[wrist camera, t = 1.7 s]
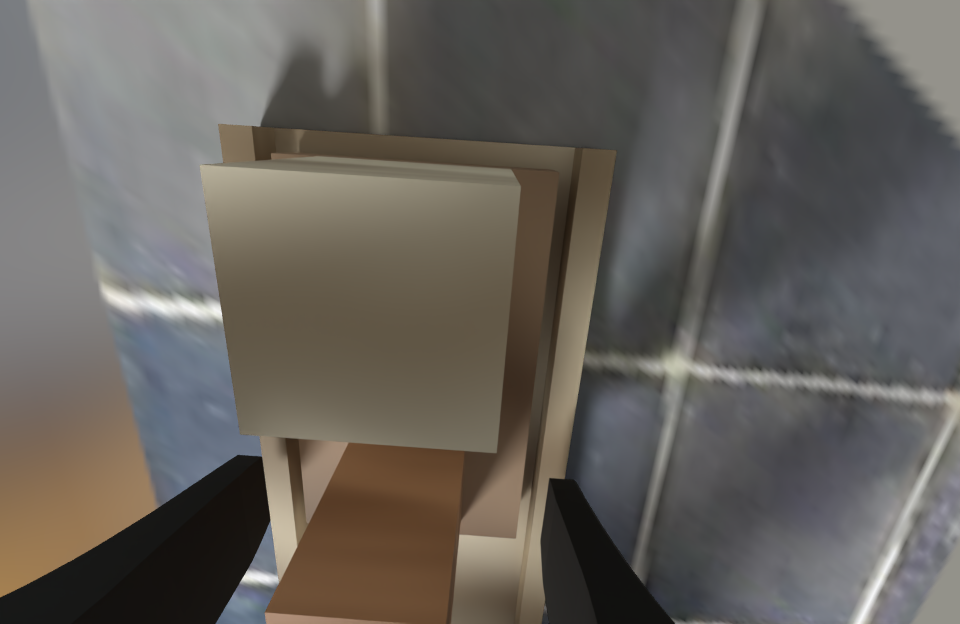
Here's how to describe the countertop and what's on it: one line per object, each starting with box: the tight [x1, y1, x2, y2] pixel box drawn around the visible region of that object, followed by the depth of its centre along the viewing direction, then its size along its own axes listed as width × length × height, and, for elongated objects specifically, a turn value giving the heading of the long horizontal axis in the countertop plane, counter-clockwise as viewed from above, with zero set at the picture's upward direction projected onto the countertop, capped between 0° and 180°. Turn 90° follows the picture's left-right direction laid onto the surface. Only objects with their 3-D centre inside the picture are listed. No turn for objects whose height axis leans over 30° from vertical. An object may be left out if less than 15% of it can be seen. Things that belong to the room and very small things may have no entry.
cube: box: [200, 156, 521, 453], centre depth 8 cm, size 4×4×4 cm
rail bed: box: [218, 124, 617, 624], centre depth 13 cm, size 17×8×2 cm, turn 177°
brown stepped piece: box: [265, 152, 560, 624], centre depth 9 cm, size 10×6×6 cm, turn 177°
